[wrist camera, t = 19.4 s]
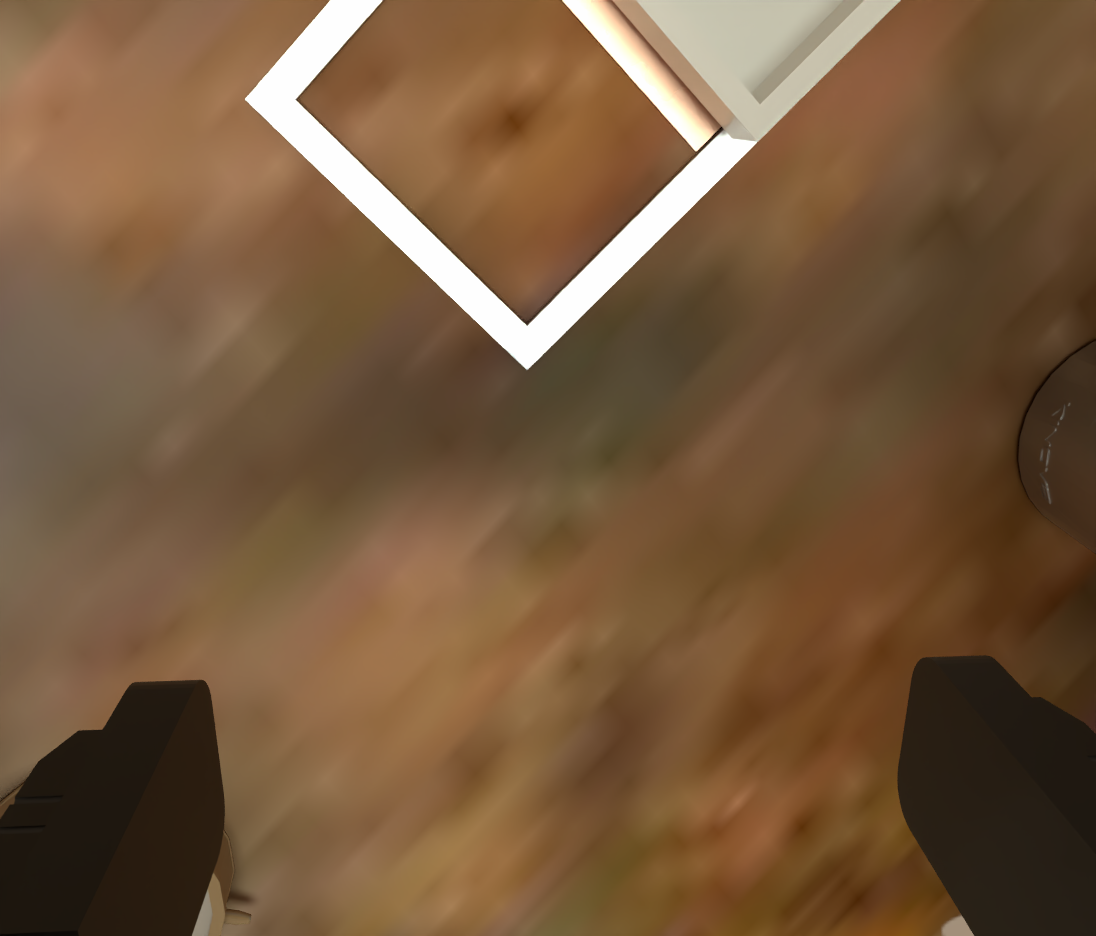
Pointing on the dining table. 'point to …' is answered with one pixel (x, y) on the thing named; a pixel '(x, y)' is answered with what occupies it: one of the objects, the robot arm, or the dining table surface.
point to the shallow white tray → (752, 50)
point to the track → (386, 211)
